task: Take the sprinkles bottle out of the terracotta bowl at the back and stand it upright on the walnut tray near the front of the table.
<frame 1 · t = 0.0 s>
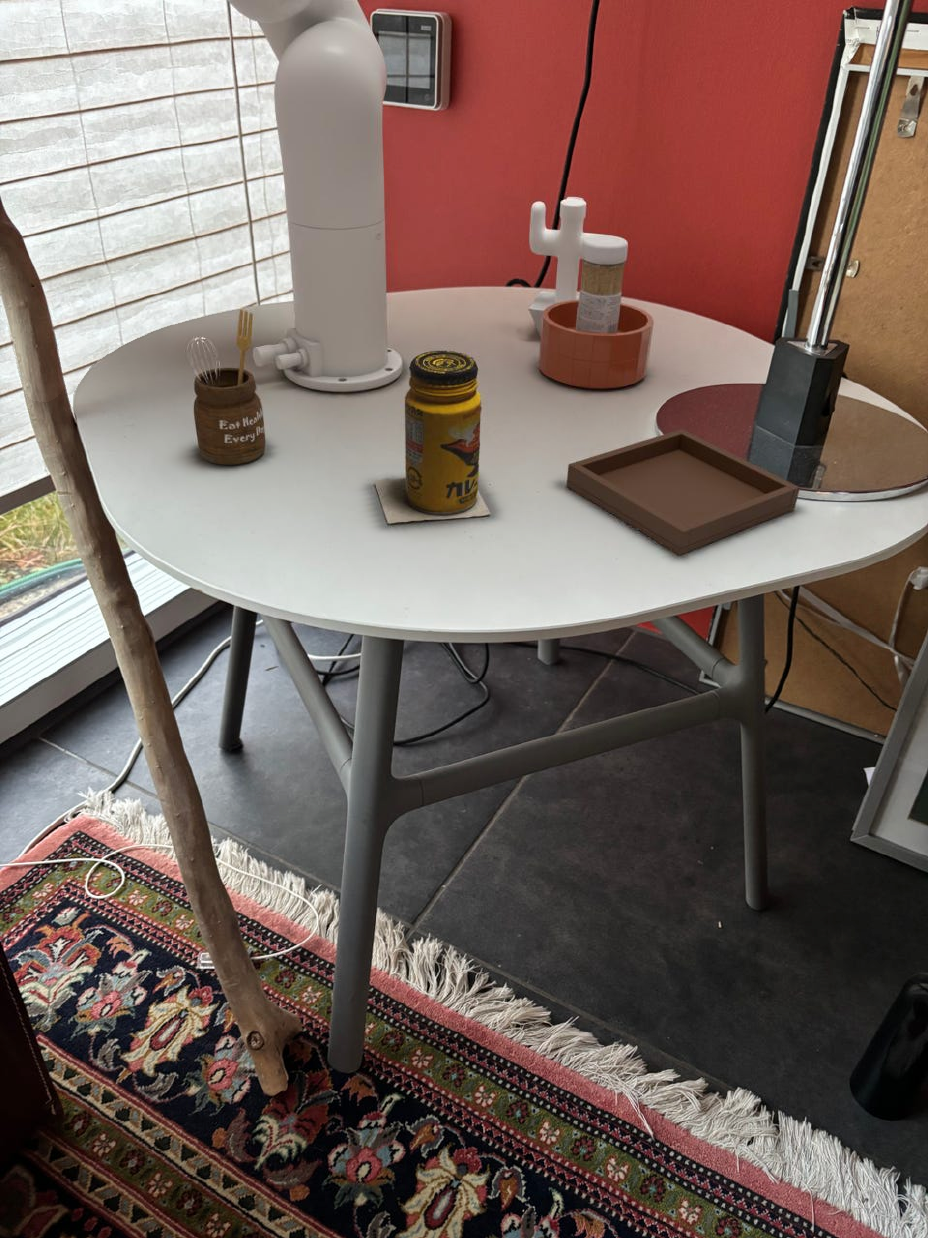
tray: (678, 497, 83), on the table
bowl: (591, 371, 106), on the table
utensil holder: (234, 453, 88), on the table
figurine: (562, 335, 116), on the table
condiment: (431, 501, 82), on the table
sprinkles bottle: (592, 369, 106), resting on bowl
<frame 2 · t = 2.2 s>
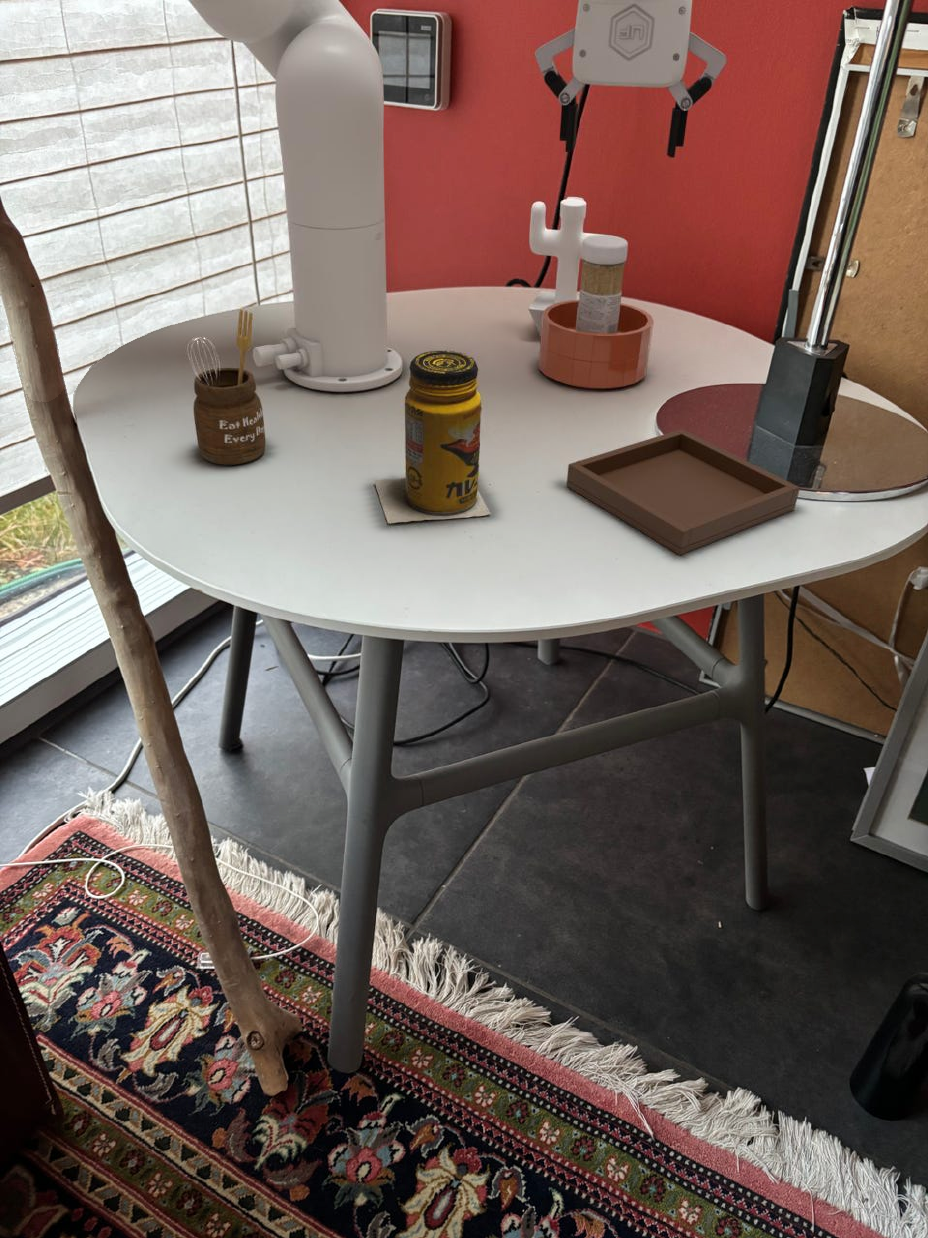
hand: (620, 152, 94), 22 cm above the table, tool pointing down, fingers open, 9 cm apart
nothing on the table moved.
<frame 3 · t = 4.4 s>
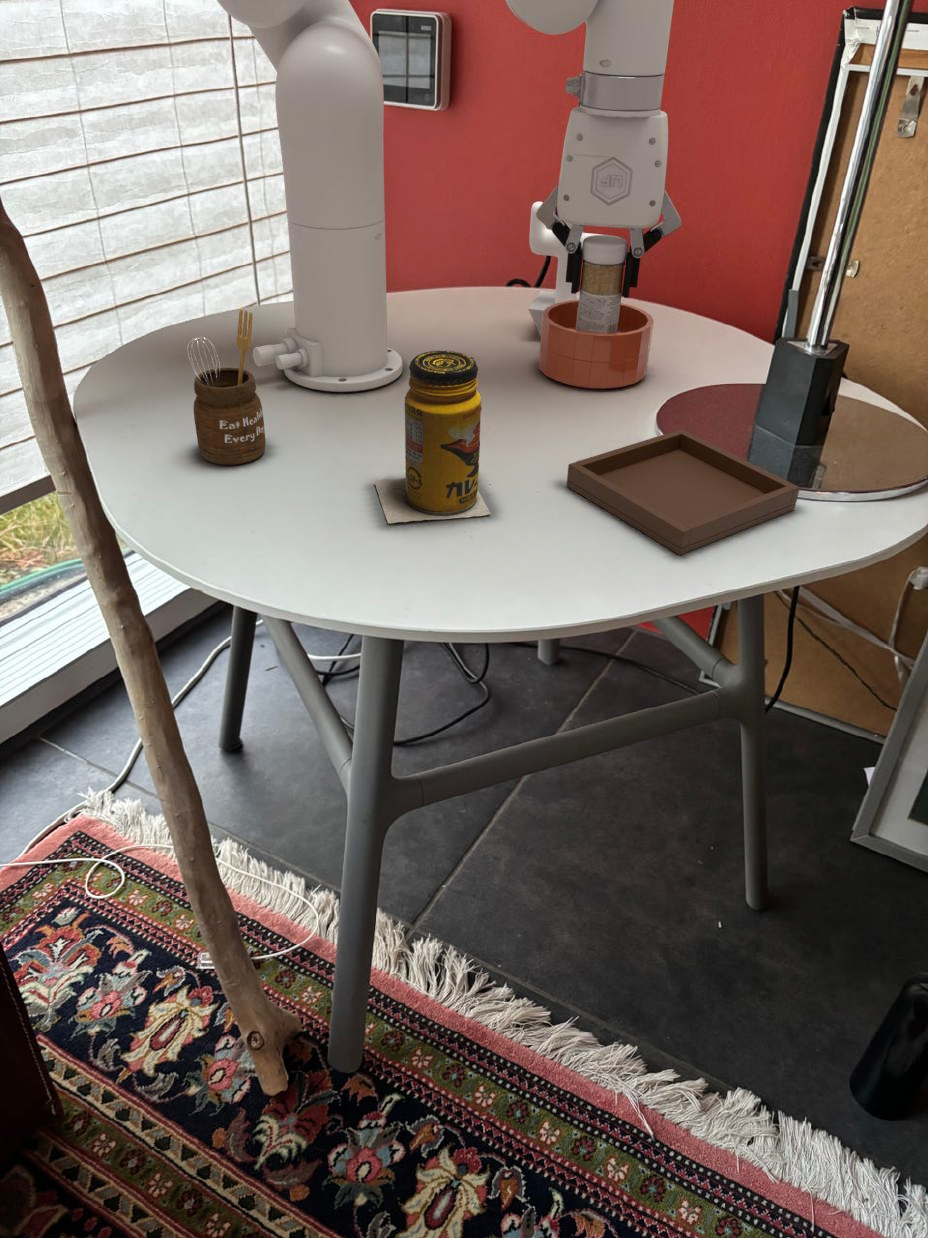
hand: (600, 289, 101), 9 cm above the table, tool pointing down, fingers closed on sprinkles bottle, 4 cm apart
sprinkles bottle: (592, 369, 106), resting on bowl, touching gripper
everything else where it was.
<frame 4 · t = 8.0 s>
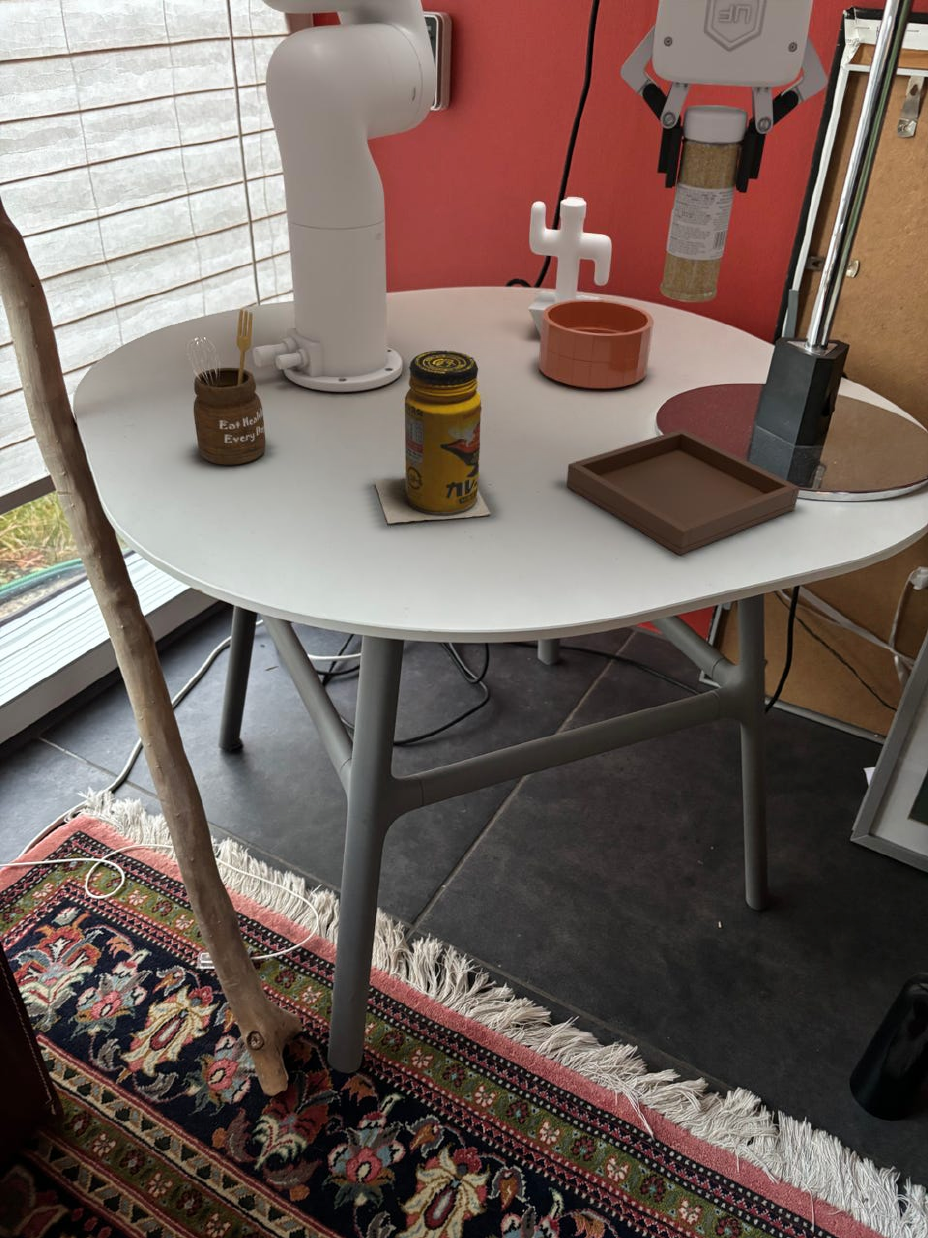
hand: (705, 183, 73), 24 cm above the table, tool pointing down, fingers closed on sprinkles bottle, 4 cm apart
sprinkles bottle: (687, 298, 78), point 15 cm above the table, touching gripper
everything else where it was.
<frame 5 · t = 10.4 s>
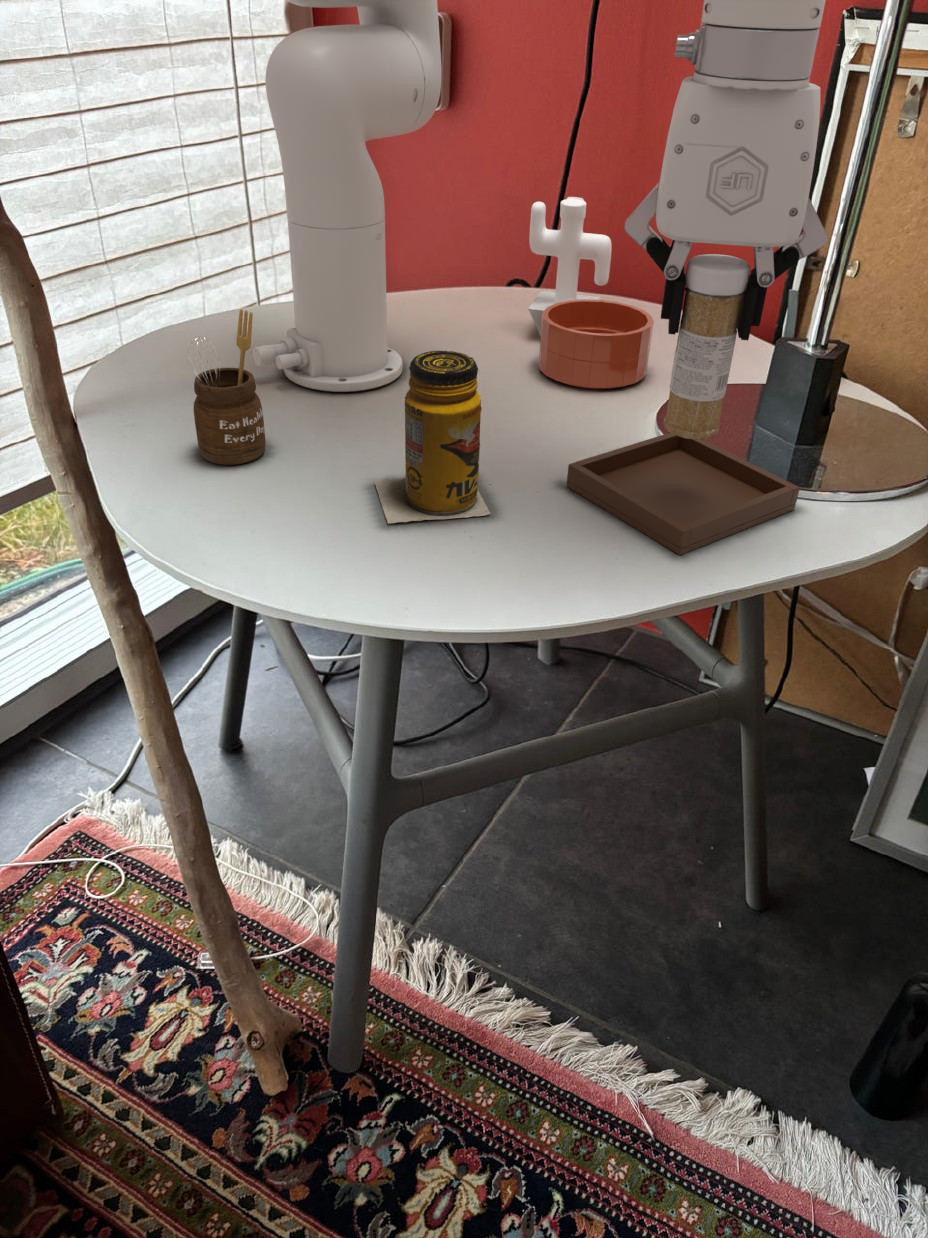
hand: (707, 328, 75), 15 cm above the table, tool pointing down, fingers closed on sprinkles bottle, 4 cm apart
sprinkles bottle: (690, 432, 80), point 6 cm above the table, touching gripper
everything else where it was.
when the fingers open (9 cm above the table, at t = 12.1 s): sprinkles bottle stays where it is, resting on tray.
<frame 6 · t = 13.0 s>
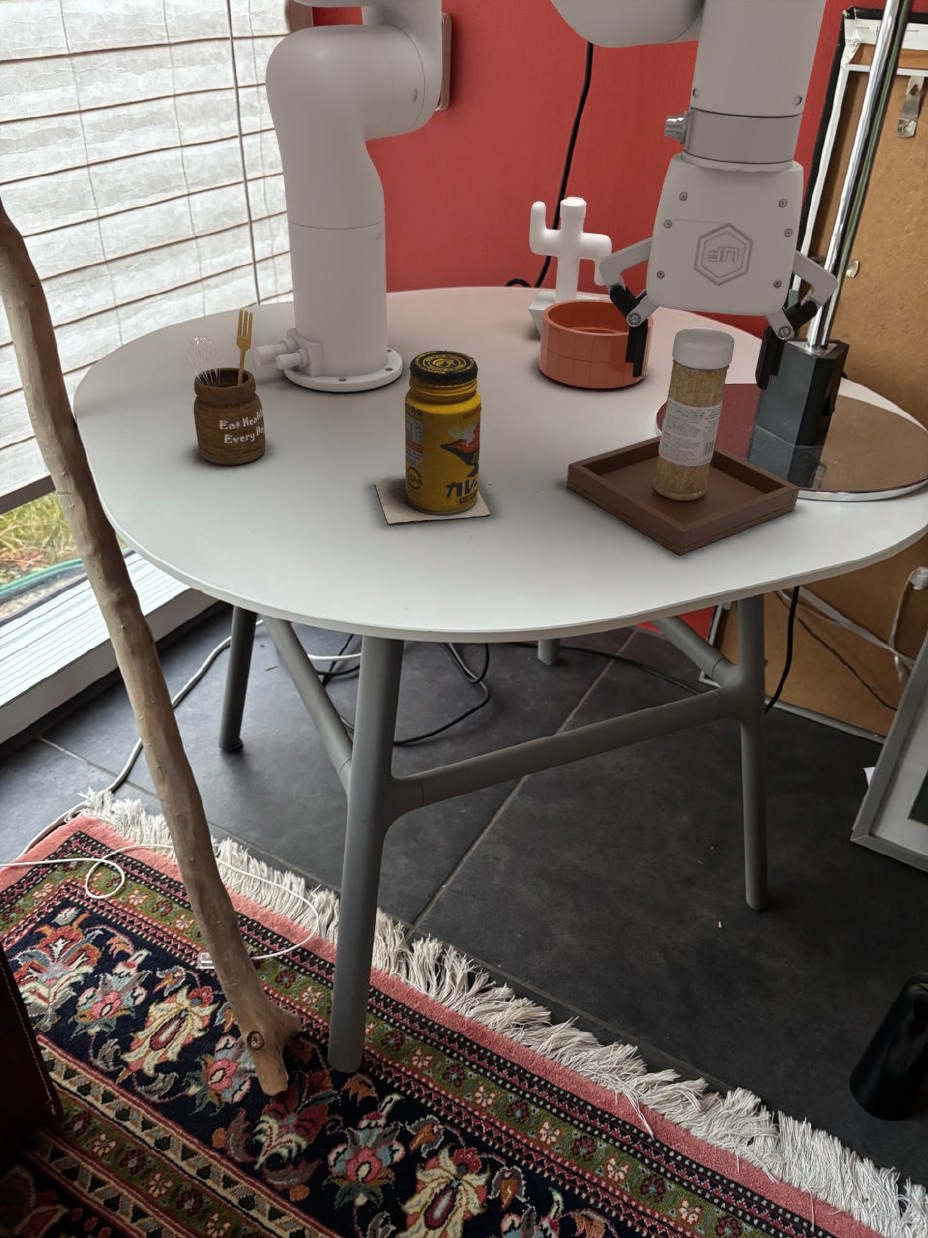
hand: (698, 377, 77), 11 cm above the table, tool pointing down, fingers open, 9 cm apart
sprinkles bottle: (678, 492, 83), resting on tray
everything else where it was.
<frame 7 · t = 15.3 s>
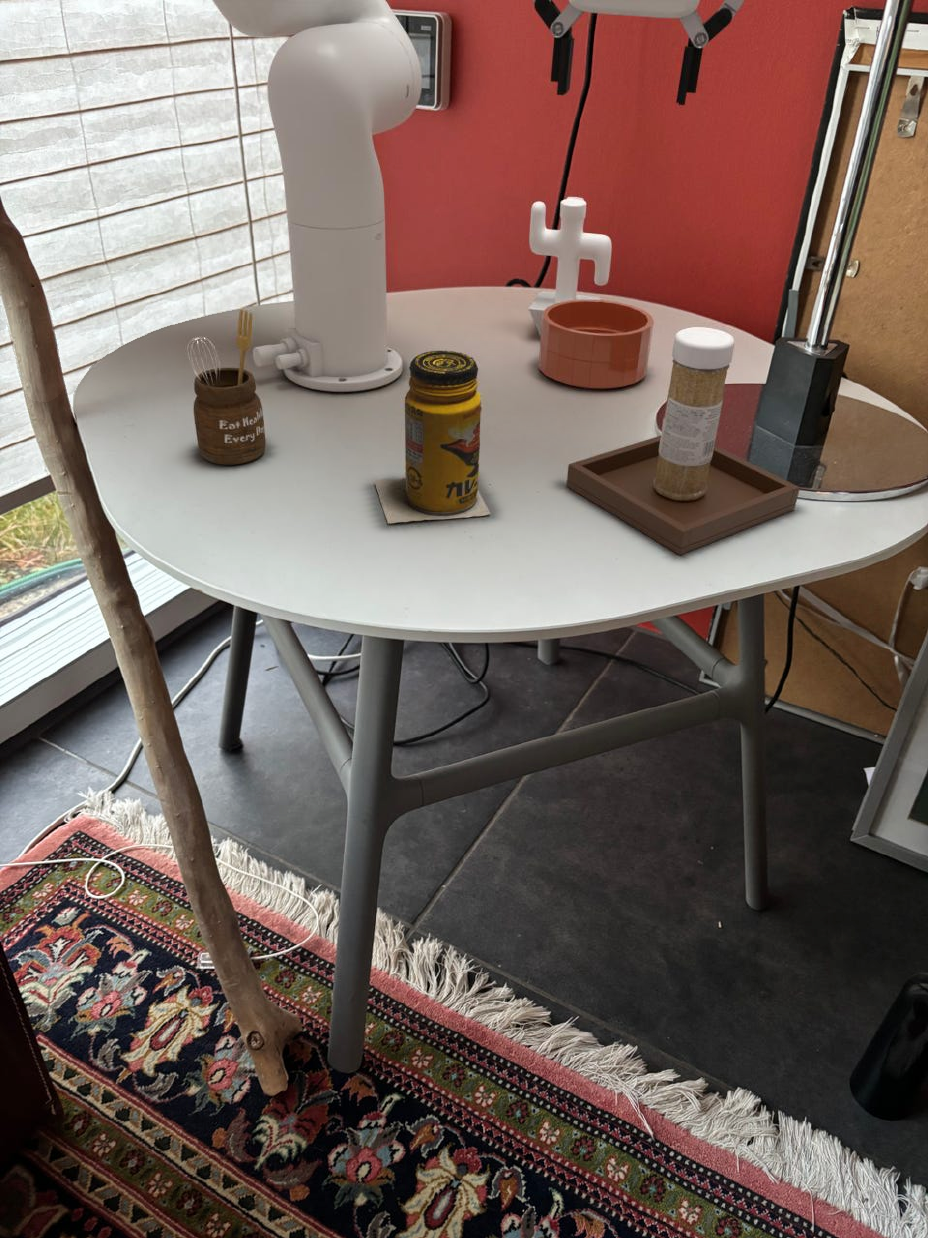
hand: (621, 97, 80), 28 cm above the table, tool pointing down, fingers open, 9 cm apart
nothing on the table moved.
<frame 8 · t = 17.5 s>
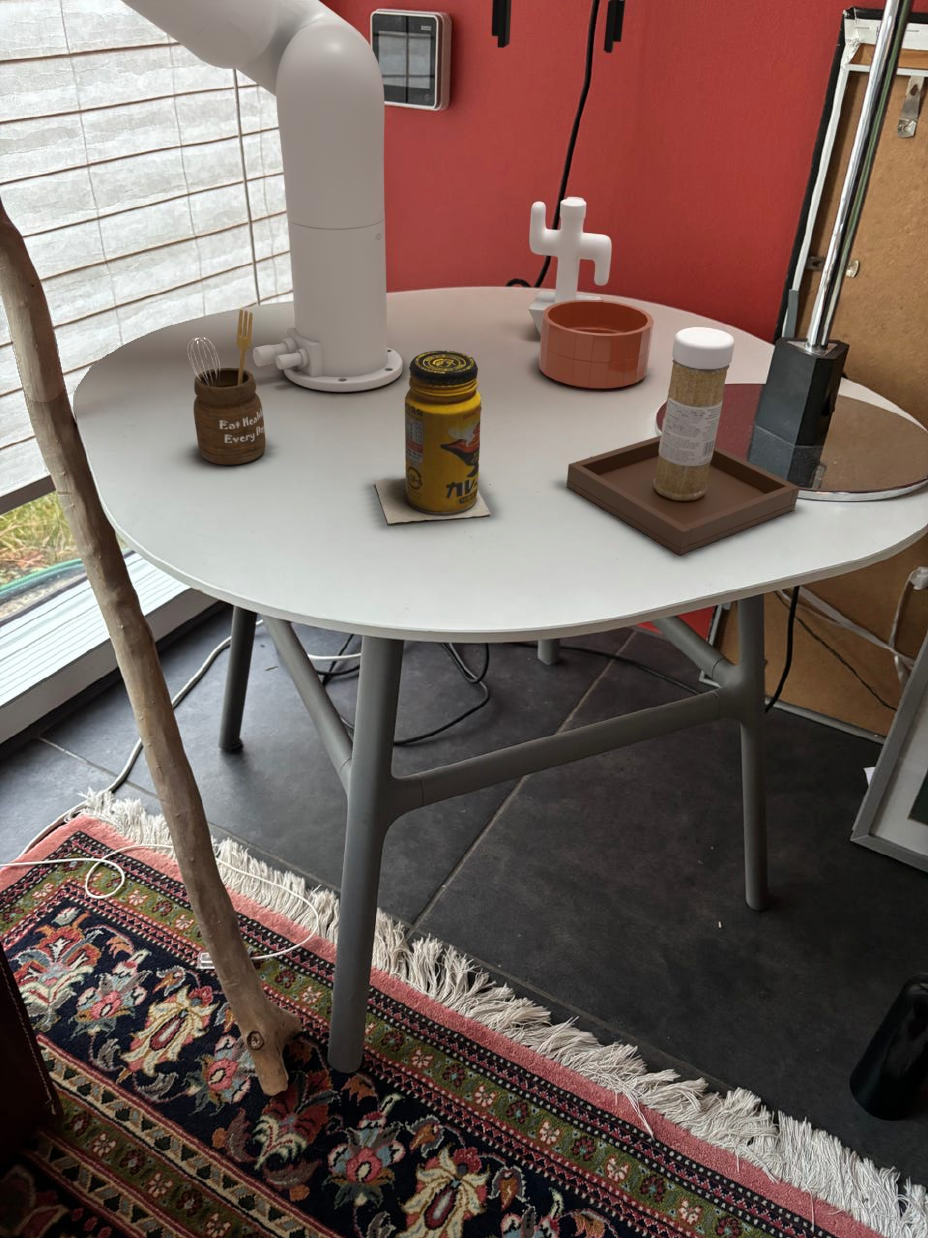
hand: (555, 48, 89), 30 cm above the table, tool pointing down, fingers open, 9 cm apart
nothing on the table moved.
at the end: sprinkles bottle inside the target area in the tray (0.1 cm from its centre), point 0.4 cm above the tray's base; sprinkles bottle tilted 0°; the gripper is holding nothing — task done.
